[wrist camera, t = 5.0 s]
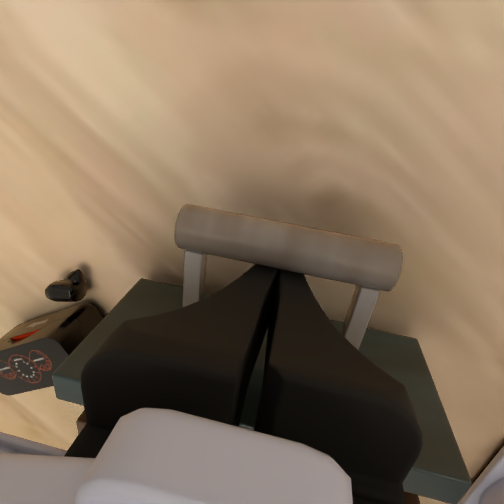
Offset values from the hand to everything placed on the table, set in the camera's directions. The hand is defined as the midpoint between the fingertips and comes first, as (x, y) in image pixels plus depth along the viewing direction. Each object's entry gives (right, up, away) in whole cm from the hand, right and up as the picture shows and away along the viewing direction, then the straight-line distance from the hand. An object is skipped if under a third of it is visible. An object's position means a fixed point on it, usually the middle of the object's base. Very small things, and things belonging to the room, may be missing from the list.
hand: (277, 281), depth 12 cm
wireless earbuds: (-11, -3, +7) cm, 14 cm away
